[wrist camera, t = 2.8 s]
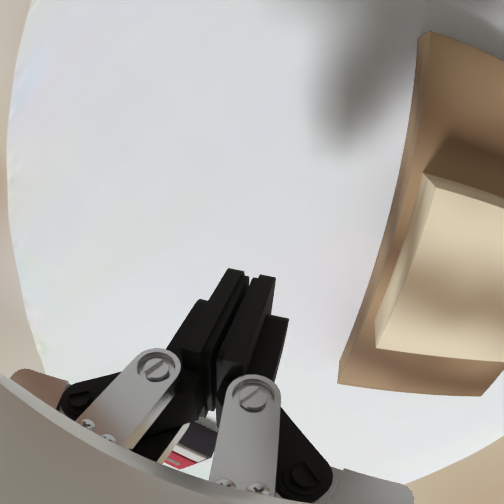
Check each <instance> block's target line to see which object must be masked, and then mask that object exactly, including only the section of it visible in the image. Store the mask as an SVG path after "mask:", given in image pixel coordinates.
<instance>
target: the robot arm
mask: <svg viewBox="0 0 504 504" xmlns="http://www.w3.org/2000/svg"><path fill="white" fill-rule="evenodd" d="M275 281H276V278H275V277H270V276H265V275H259V277H258V278H254V277H253V279H252V281H251V283H250V285H249V276H244V271H240V270H235V269H230V268H228V269H227V271H226V272H225V274H224V276H223V277H222V279H221V281H220V282H219V284H218V286H217V287H216V289H215V291H214V292H213V294H212V295H211V297H210V299H209V300H208V301H206V300H202V299H199V300H198V301H197V302H196V303H195V305H194V306H193V308H192V309H191V311H190V313H189V314H188V316H187V317H186V319H185V320H184V322H183V323H182V325H181V326H180V328H179V330H178V331H177V333H176V334H175V336H174V337H173V339H172V340H171V342H170V344H169V345H168V347H167V348H166V350H165V349H160V348H154V349H148V350H146V351H143V352H141V353H140V354H139V355H138V356H136V357H135V358H134V359H133V361H132V362H131V363H130V364H129V365H128V366H127V367H126V368H125V369H124V370H123V371H122V372H118V373H115V374H111V375H107V376H103V377H99V378H95V379H91V380H87V381H82V382H78V383H75V384H73V385H71V384H69V382H68V381H65V380H62V379H58V378H55V377H52V376H49V375H45V374H42V373H39V372H36V371H33V370H30V369H21V370H18V371H17V372H15V373H14V374H13V375H12V377H11V378H8V377H6V376H4V375H2V374H0V504H414V497H413V494H412V491H411V490H410V489H409V488H408V487H407V486H405V485H402V484H400V483H396V482H391V481H387V480H383V479H379V478H375V477H372V476H368V475H365V474H361V473H358V472H354V471H351V470H348V469H345V468H344V469H343V470H340V469H337V468H333V467H331V466H330V465H329V464H328V462H327V461H326V460H325V459H324V458H323V457H322V455H321V454H320V453H319V452H318V451H317V450H316V449H315V447H314V446H313V445H312V444H311V443H310V442H309V440H308V439H307V438H306V437H305V436H304V434H303V433H302V432H301V431H300V430H299V428H298V427H297V426H296V425H295V424H294V422H293V421H292V420H291V419H290V418H289V416H288V415H287V414H286V413H285V411H284V410H283V409H282V408H281V394H280V390H279V388H278V387H277V385H276V384H275V383H274V381H275V378H276V374H277V370H278V366H279V362H280V358H281V354H282V350H283V346H284V342H285V337H286V332H287V327H288V322H289V319H288V318H283V317H278V316H273V315H271V310H272V303H273V296H274V288H275ZM215 408H216V420H217V427H218V429H219V431H218V436H217V441H216V446H215V451H214V456H213V461H212V466H211V471H210V476H209V481H207V480H204V479H201V478H198V477H195V476H192V475H189V474H186V473H183V472H180V471H178V470H175V469H172V468H170V467H167V466H165V465H162V464H163V463H164V461H165V460H166V459H167V457H168V456H169V454H170V453H171V452H172V450H173V449H174V447H175V446H176V444H177V443H178V442H179V440H180V439H181V437H182V436H183V434H184V433H185V432H186V430H187V429H188V427H189V424H190V422H193V421H196V420H198V418H199V416H201V417H204V418H206V416H207V413H208V411H209V410H210V411H214V410H215Z"/></svg>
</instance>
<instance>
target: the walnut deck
mask: <svg viewBox="0 0 504 504" xmlns="http://www.w3.org/2000/svg"><path fill="white" fill-rule="evenodd" d="M422 172H423V173H426V174H430V175H434V176H437V177H441V178H444V179H448V180H451V181H454V182H458V183H461V184H464V185H467V186H470V187H473V188H476V189H479V190H482V191H485V192H488V193H491V194H494V195H497V196H499V197H502V198H504V61H502V60H500V59H498V58H496V57H494V56H492V55H490V54H488V53H486V52H483V51H481V50H479V49H477V48H474V47H472V46H470V45H467V44H465V43H462V42H460V41H457V40H454V39H452V38H449V37H446V36H444V35H441V34H438V33H435V32H432V31H429V32H427V33H426V34H424V35H422V36H421V37H419V38H418V44H417V58H416V69H415V79H414V88H413V96H412V103H411V110H410V117H409V123H408V129H407V135H406V141H405V146H404V152H403V157H402V162H401V167H400V171H399V176H398V180H397V185H396V189H395V193H394V198H393V202H392V206H391V210H390V214H389V217H388V221H387V225H386V229H385V232H384V236H383V239H382V243H381V246H380V249H379V253H378V256H377V259H376V263H375V266H374V269H373V272H372V275H371V278H370V281H369V284H368V287H367V290H366V293H365V296H364V299H363V302H362V305H361V307H360V310H359V313H358V316H357V318H356V321H355V324H354V326H353V329H352V331H351V334H350V337H349V339H348V342H347V344H346V347H345V349H344V351H343V354H342V356H341V359H340V361H339V372H338V382H337V384H343V385H350V386H356V387H364V388H371V389H379V390H387V391H396V392H407V393H418V394H431V395H449V396H482V394H483V393H484V392H485V391H486V390H487V389H488V388H489V387H490V385H491V384H492V383H493V382H494V381H495V380H496V378H497V377H498V376H499V375H500V374H501V372H502V371H503V370H504V362H495V361H482V360H470V359H459V358H449V357H440V356H431V355H423V354H415V353H407V352H400V351H393V350H386V349H379V348H376V339H375V321H374V320H375V318H376V315H377V313H378V310H379V308H380V306H381V303H382V300H383V298H384V295H385V293H386V290H387V287H388V285H389V282H390V279H391V277H392V274H393V271H394V268H395V265H396V262H397V259H398V256H399V253H400V250H401V247H402V244H403V241H404V238H405V235H406V231H407V228H408V225H409V221H410V218H411V214H412V211H413V207H414V204H415V200H416V196H417V192H418V188H419V184H420V180H421V176H422Z"/></svg>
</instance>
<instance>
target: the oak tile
mask: <svg viewBox="0 0 504 504" xmlns="http://www.w3.org/2000/svg"><path fill="white" fill-rule="evenodd" d="M374 321H375V339H376V348H379V349H386V350H393V351H400V352H407V353H415V354H423V355H431V356H440V357H449V358H459V359H470V360H482V361H495V362H504V198H502V197H499V196H497V195H494V194H491V193H488V192H485V191H482V190H479V189H476V188H473V187H470V186H467V185H464V184H461V183H458V182H454V181H451V180H448V179H444V178H441V177H437V176H434V175H430V174H426V173H423V172H422V176H421V180H420V184H419V188H418V192H417V196H416V200H415V204H414V207H413V211H412V214H411V218H410V221H409V225H408V228H407V231H406V235H405V238H404V241H403V244H402V247H401V250H400V253H399V256H398V259H397V262H396V265H395V268H394V271H393V274H392V277H391V279H390V282H389V285H388V287H387V290H386V293H385V295H384V298H383V300H382V303H381V306H380V308H379V310H378V313H377V315H376V318H375V320H374Z"/></svg>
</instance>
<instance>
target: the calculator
mask: <svg viewBox="0 0 504 504" xmlns="http://www.w3.org/2000/svg"><path fill="white" fill-rule="evenodd" d="M217 436H218V433H217V432H214V431H212V430H210V429H208V428H206V427H204V426H202V425H200V424H198V423H196V422H194V421H193V422H190V424H189V427H188V429H187V430H186V432H185V433H184V434H183V436H182V437H181V439H180V440H179V442H178V443H177V444H176V446H175V447H174V449H173V450H172V452H171V453H170V454H169V456H168V457H167V459H166V460H165V461H164V462H165V463H167V464H169V465H171V466H173V467H175V468H178V469H183V468H186V467H188V466H191V465H194V464H196V463H199V462H201V461H204V460H206V459H209V458H211V457H212V455H213V452H214V450H215V446H216V441H217Z"/></svg>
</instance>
